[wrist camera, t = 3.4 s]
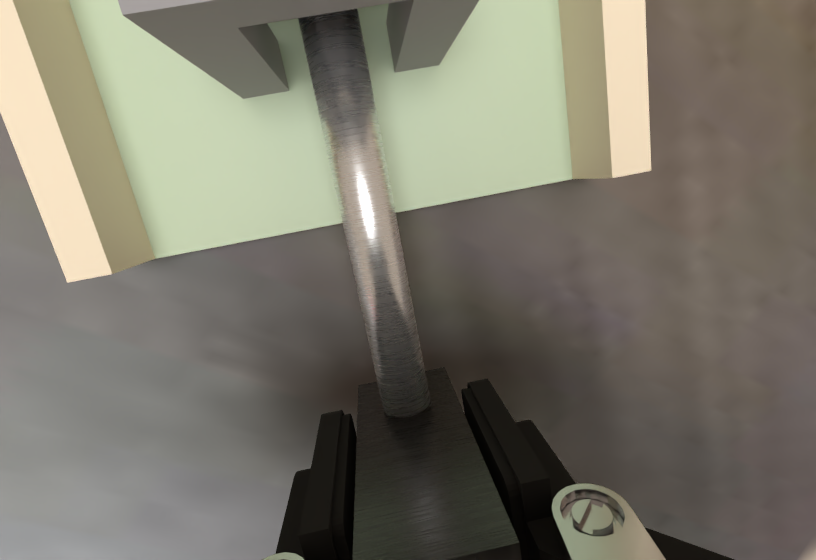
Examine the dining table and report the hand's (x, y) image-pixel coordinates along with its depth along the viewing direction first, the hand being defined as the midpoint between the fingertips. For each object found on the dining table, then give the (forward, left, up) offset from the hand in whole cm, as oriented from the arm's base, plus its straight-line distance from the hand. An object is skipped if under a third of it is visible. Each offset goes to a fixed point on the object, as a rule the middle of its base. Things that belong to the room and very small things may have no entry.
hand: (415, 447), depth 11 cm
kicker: (+6, 0, -2) cm, 6 cm away
